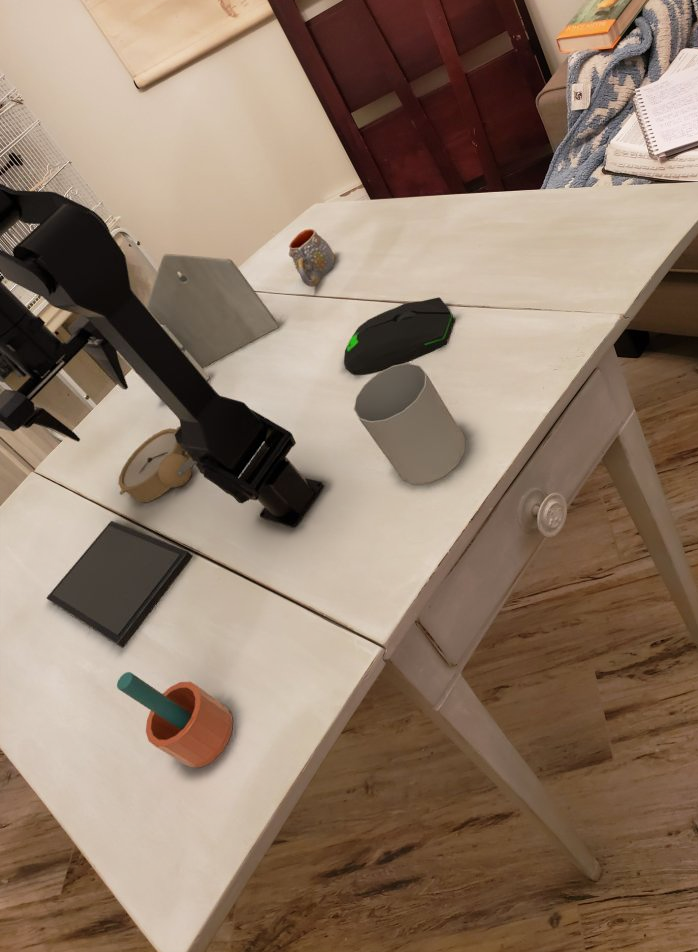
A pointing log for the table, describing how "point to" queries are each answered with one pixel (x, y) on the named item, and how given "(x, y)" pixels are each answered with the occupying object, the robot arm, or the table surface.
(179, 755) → the pen pot
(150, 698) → the stylus
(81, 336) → the robot arm
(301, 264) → the mug
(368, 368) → the computer mouse
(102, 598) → the tablet
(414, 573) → the table surface
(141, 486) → the alarm clock
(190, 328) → the grey house-shaped block
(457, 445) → the cup
